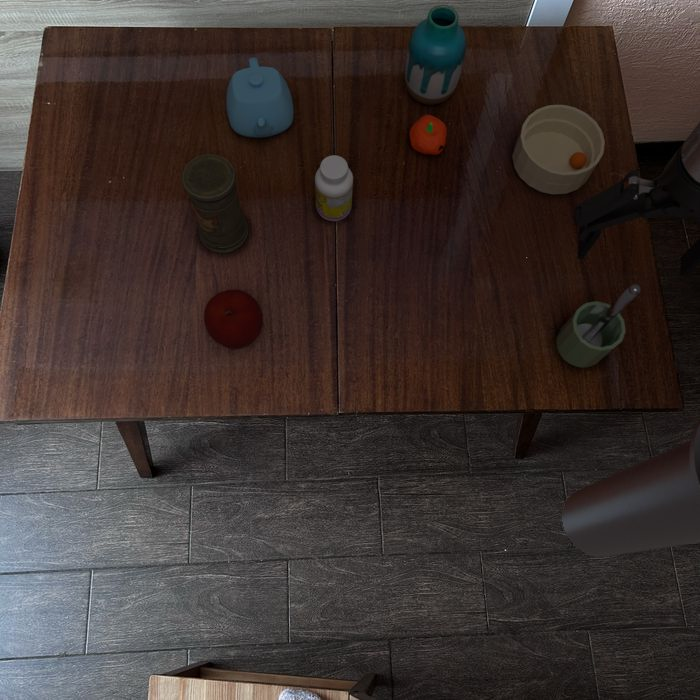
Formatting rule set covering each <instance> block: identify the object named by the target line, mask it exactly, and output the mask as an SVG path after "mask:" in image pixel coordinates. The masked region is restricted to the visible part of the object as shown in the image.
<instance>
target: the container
mask: <svg viewBox="0 0 700 700" xmlns="http://www.w3.org/2000/svg"><path fill="white" fill-rule="evenodd" d="M236 181H237V173H236V170H235V167H234V166H233V164H232V163H231V162H230V161H229V160H228V159H226V158H225V157H223V156H221V155H217V154H212V153H211V154H210V153H208V154H207V153H206V154H202V155H201V154H200V155H198V156H196V157H194V158H192V159H191V160H190V161H188V163H187V164H186V165H185V167H184V169H183V171H182V175H181V183H182V188H183V190H184V191H185V192H186V194H187V195H188V198H189V202H191V204H192V208H193V210H194V213H195V216H196V223H197V227H198V228H197V229H198V236H199V239H200V241H201V243H202V245H203V246H204V247H205V248H207V249H208V250H209V251H211V252H213V253H216V254H222V255H223V254H230V253H231V254H232V253H233V252H235V251H237V250H240V248H241V247H243V246H244V244H245V242H246V241H247V238H248V236H249V223H248V220H247V219H246V216H245V214H244V213H243V212H244V211H243V209H242V207H241V204H240V199H239V195H238V186H237V183H236Z"/></svg>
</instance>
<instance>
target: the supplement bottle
mask: <svg viewBox="0 0 700 700" xmlns="http://www.w3.org/2000/svg"><path fill="white" fill-rule="evenodd" d="M319 166H320V167H318V169H317V170H316V173H315V175H314V194H315V195H314V197H315V208H316V211H317V214H319V215H320V217H321V218H323V219H324V220H326V221H330V222H338V221H341V220H343V219H345V218H346V217H347V216H348V215H350V213H351V212H352V211H351V210H352V207H353V191H354V190H353V188H354V175H353V172H352V171H351V168H349V165H348V162H347V160H346V159H345V158H344V157H342V156H340V155H335V154H333V155H329V156H326V157H324V159H322V161H321V162H320V165H319Z"/></svg>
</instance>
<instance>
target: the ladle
mask: <svg viewBox="0 0 700 700" xmlns="http://www.w3.org/2000/svg"><path fill="white" fill-rule="evenodd" d="M640 293H641V286H639V285H638V284H636V283H633V284H631V285H629V286H628V287H627V288H626V290H625V291H624V292H622V294H620V296H619V297H617V299H616V300H615V301H614V302H613V303H612V304H610V305H611V306H610V307H609V308H608V310H607V311H606V312H605V313H604V314H603V315H602V316H601V317H600V318H599V319H598V320H597V321H596V322H595V323H594V324H593V325H591V324H580V325H578V326H577V330H578V331H579V333H580V335H581V336H582V338H583V339H584V340H586V341H587V342H588V343H590V344H591V345H595V346H599V347H600V346H601V344H602V335H601V333H600V331H601V330H602V329H603V328H604V327H605V326H606V325H607V324H608V323H609V322H610V321H611V320H613V319H614V318H615V317H616V316H617V315H618V314H619V313H620V314H621V312H622V311H623V310H624V309H625V308H626V307H627V306H628V305H629V304H630V303H631V302H632V301H633V300H634V299H635V298H636V297H637V296H638V295H639V294H640Z"/></svg>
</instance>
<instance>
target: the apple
mask: <svg viewBox="0 0 700 700" xmlns="http://www.w3.org/2000/svg"><path fill="white" fill-rule="evenodd" d="M203 322H204V323H203V324H204V327H205V330H206V332H207V334H208V335H209V336H210V338H211V339H212V340H213V341H214V342H216V343H217V344H219V346H222V347H225V348H226V349H227V348H228V349H231V350H232V349H233V350H239V349H244V348H246V347H248V346H249V345H251V344H253V343H254V342H255V341H256V340H257V339H258V337H259V336H260V334H261V332H262V329H263V323H264V317H263V311H262V309H261V306H260V304H259V303H258V301H257V300H256V298H254V296H252V295H251V294H250V293H248V292H246V291H244V290H241V289H234V288H233V289H225V290H223V291H219V292H218V293H216V294H215V295H213V296H212V297H211V298H210V299H209V300H208V302H207V303H206V305H205V308H204V313H203Z"/></svg>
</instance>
